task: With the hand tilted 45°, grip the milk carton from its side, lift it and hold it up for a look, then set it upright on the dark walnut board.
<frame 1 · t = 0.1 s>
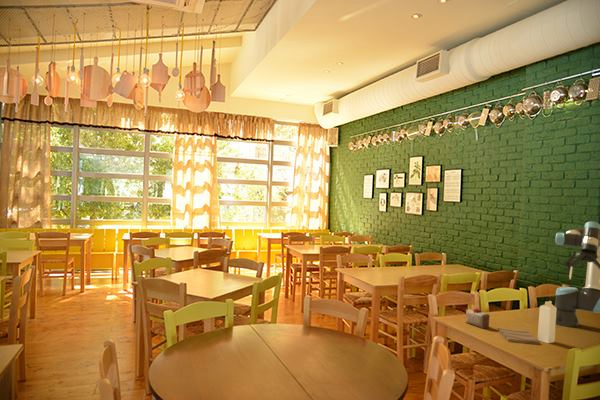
hand: (584, 280, 231), 36 cm above the table, tool tilted 35°, fingers open, 13 cm apart
milk: (545, 341, 239), on the table
walnut board: (517, 337, 243), on the table
food item: (476, 325, 263), on the table
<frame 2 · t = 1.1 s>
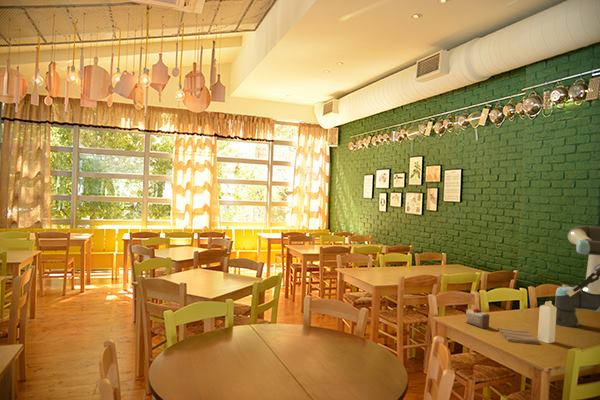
hand: (570, 292, 232), 29 cm above the table, tool tilted 45°, fingers open, 13 cm apart
nothing on the table moved.
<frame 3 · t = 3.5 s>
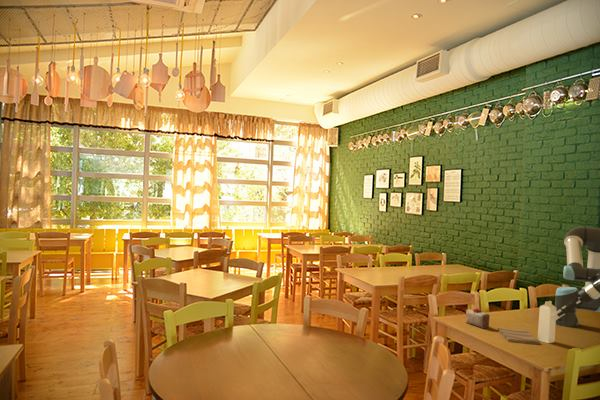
hand: (554, 316, 235), 15 cm above the table, tool tilted 45°, fingers open, 13 cm apart
nothing on the table moved.
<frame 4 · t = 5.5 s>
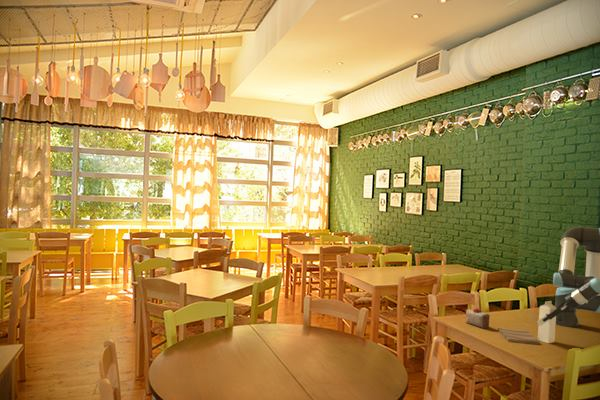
hand: (540, 322, 241), 10 cm above the table, tool tilted 45°, fingers closed on milk, 8 cm apart
milk: (545, 341, 239), on the table, touching gripper
everything else where it was.
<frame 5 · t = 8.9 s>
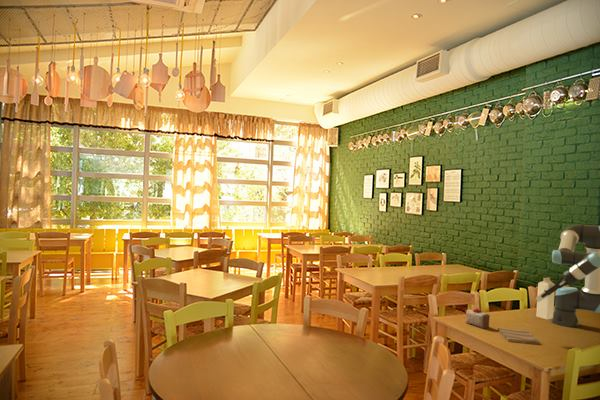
hand: (538, 299, 241), 23 cm above the table, tool tilted 45°, fingers closed on milk, 8 cm apart
milk: (544, 317, 239), point 13 cm above the table, touching gripper
everything else where it was.
when the fingers open (12 cm above the table, at t = 12.1 s): milk drops 1 cm, resting on walnut board.
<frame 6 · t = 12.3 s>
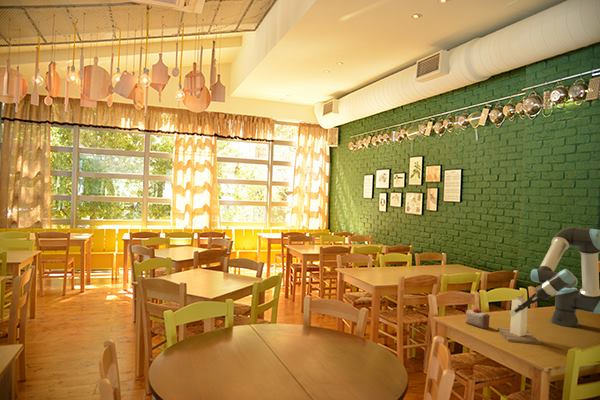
hand: (513, 312, 245), 13 cm above the table, tool tilted 45°, fingers open, 10 cm apart
milk: (517, 334, 243), point 1 cm above the table, touching walnut board
everything else where it was.
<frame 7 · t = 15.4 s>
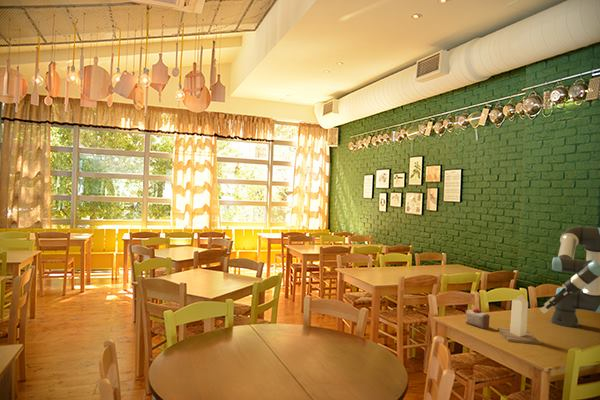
hand: (544, 308, 236), 18 cm above the table, tool tilted 40°, fingers open, 13 cm apart
nothing on the table moved.
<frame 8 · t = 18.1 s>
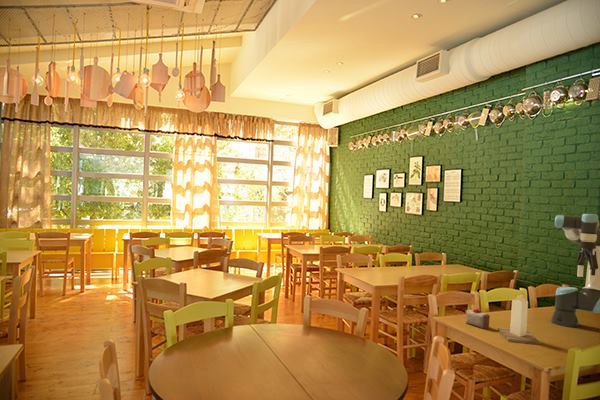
hand: (585, 278, 243), 35 cm above the table, tool pointing down, fingers open, 13 cm apart
nothing on the table moved.
at the end: milk inside the target area on the walnut board (0.1 cm from its centre), point 1.3 cm above the walnut board's base; milk tilted 0°; the gripper is holding nothing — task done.
